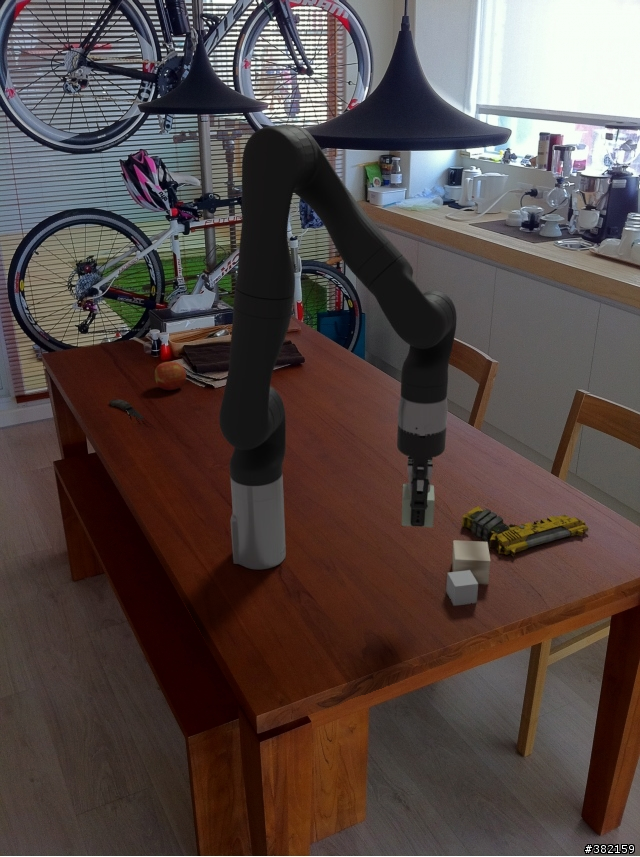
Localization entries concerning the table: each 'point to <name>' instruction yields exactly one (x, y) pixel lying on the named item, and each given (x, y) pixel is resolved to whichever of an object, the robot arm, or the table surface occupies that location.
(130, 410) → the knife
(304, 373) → the table surface
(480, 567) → the maple block
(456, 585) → the grey block
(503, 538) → the toy gun
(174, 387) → the apple
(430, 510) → the green cube
